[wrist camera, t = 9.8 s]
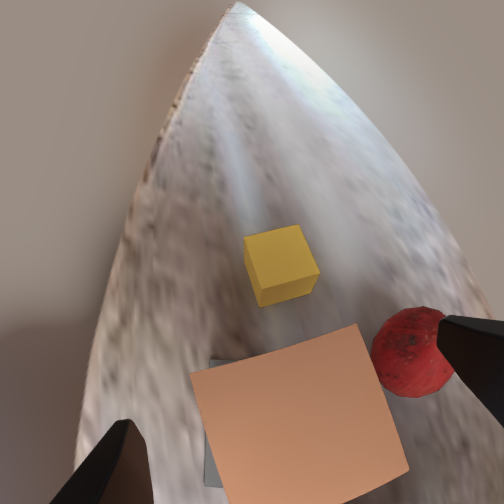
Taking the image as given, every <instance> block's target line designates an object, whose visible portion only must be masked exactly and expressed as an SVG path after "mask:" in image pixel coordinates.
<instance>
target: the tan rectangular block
mask: <svg viewBox="0 0 504 504" xmlns="http://www.w3.org/2000/svg"><path fill="white" fill-rule="evenodd" d="M189 374H190V378H191V381H192V385H193V389H194V393H195V397H196V400H197V404H198V407H199V411H200V414H201V418H202V421H203V425H204V428H205V432H206V435H207V438H208V441H209V445H210V448H211V451H212V454H213V457H214V460H215V463H216V466H217V469H218V472H219V475H220V478H221V481H222V484H223V487H224V490H225V492H226V495H227V498H228V501H229V503H230V504H342V503H345V502H347V501H350V500H352V499H354V498H356V497H359V496H361V495H363V494H365V493H367V492H369V491H371V490H374V489H376V488H378V487H380V486H382V485H384V484H386V483H387V482H389V481H391V480H393V479H395V478H397V477H399V476H401V475H402V474H404V473H406V472H408V471H409V466H408V463H407V460H406V457H405V454H404V451H403V447H402V444H401V441H400V438H399V435H398V432H397V429H396V426H395V424H394V421H393V418H392V415H391V412H390V409H389V406H388V404H387V401H386V398H385V395H384V393H383V390H382V387H381V384H380V382H379V379H378V376H377V374H376V371H375V369H374V366H373V363H372V361H371V358H370V356H369V353H368V351H367V348H366V346H365V343H364V341H363V338H362V336H361V333H360V331H359V328H358V326H357V324H353V325H350V326H347V327H345V328H342V329H339V330H336V331H333V332H331V333H328V334H325V335H322V336H319V337H316V338H313V339H310V340H307V341H304V342H301V343H298V344H295V345H292V346H288V347H285V348H282V349H279V350H275V351H272V352H269V353H265V354H262V355H258V356H255V357H251V358H248V359H244V360H241V361H237V362H233V363H229V364H226V365H222V366H218V367H214V368H210V369H206V370H202V371H197V372H193V373H189Z"/></svg>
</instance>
